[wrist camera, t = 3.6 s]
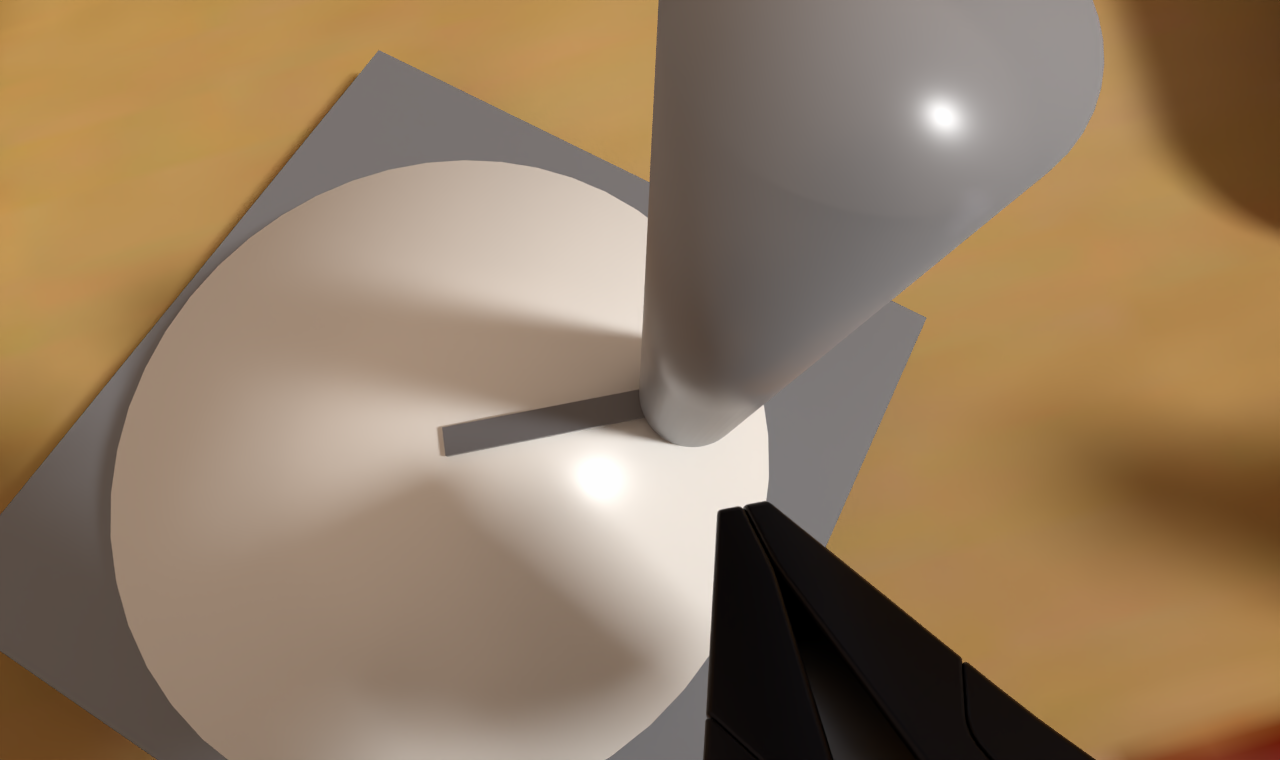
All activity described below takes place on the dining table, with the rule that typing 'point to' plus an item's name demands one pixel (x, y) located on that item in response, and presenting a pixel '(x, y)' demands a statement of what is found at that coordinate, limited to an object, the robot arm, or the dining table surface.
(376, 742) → the dial
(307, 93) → the dining table surface
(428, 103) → the dial board
